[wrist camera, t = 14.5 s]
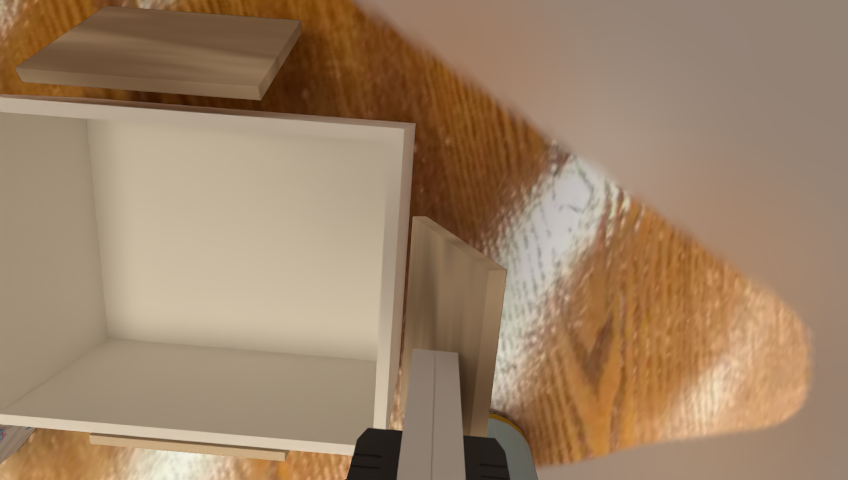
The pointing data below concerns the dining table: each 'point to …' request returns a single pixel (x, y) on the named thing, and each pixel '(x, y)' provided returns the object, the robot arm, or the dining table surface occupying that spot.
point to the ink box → (12, 439)
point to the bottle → (512, 447)
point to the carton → (200, 274)
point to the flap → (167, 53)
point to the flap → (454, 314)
